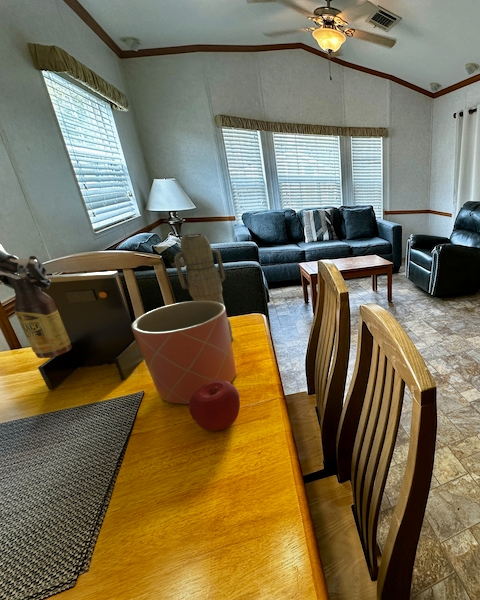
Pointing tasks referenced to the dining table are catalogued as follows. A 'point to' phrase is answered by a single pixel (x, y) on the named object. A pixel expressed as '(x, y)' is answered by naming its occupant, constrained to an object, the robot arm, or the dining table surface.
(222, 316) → the planter
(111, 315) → the dispenser
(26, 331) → the sauce bottle
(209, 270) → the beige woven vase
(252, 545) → the dining table surface
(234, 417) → the apple
